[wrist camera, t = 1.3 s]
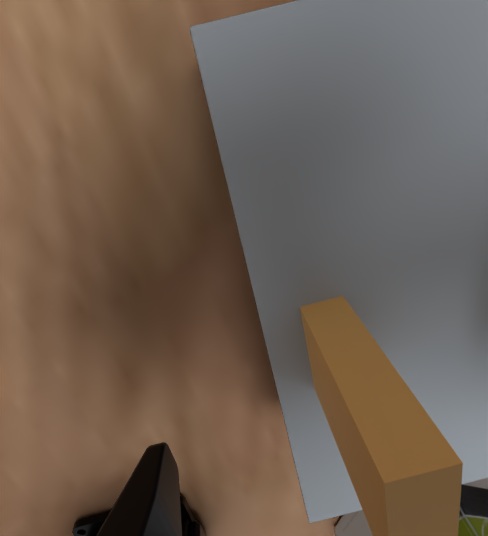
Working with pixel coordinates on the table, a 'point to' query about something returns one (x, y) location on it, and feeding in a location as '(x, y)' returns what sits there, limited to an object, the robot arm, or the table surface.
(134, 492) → the robot arm
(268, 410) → the table surface
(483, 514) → the tea box
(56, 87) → the table surface
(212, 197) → the table surface
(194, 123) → the table surface
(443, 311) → the lid
